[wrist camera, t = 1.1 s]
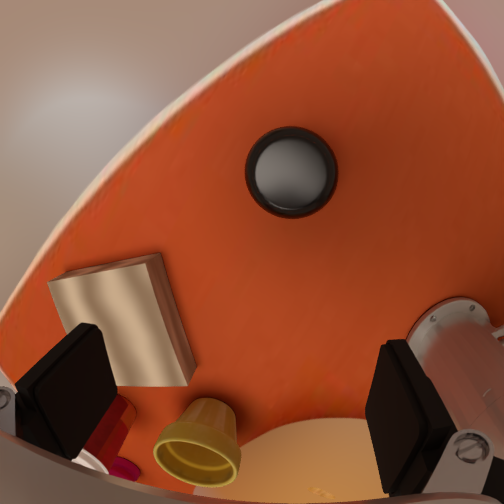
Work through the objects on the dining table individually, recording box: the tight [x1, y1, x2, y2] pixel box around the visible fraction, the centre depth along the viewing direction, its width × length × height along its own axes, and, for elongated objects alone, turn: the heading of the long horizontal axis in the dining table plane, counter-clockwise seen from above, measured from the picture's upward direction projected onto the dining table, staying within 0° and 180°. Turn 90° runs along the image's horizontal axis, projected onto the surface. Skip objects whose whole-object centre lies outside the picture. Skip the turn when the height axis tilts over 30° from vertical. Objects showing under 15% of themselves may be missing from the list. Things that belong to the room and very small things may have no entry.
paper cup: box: [72, 394, 136, 474], centre depth 35 cm, size 8×8×14 cm
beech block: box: [47, 253, 197, 386], centre depth 35 cm, size 15×15×4 cm
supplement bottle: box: [245, 126, 338, 219], centre depth 24 cm, size 7×7×12 cm
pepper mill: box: [109, 457, 140, 482], centre depth 38 cm, size 7×7×20 cm
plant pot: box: [153, 398, 241, 487], centre depth 35 cm, size 10×10×10 cm
